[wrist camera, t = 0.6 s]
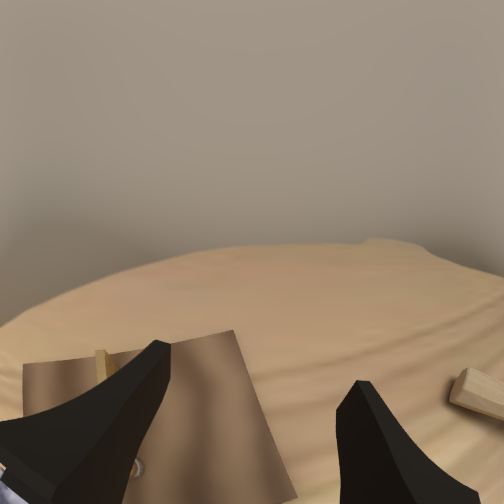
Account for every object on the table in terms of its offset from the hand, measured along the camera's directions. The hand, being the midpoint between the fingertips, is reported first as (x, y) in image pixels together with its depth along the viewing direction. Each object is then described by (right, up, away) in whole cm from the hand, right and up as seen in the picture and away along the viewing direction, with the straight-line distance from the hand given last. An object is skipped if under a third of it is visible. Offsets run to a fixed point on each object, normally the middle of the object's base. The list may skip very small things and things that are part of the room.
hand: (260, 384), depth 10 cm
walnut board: (-13, -14, +11) cm, 22 cm away
